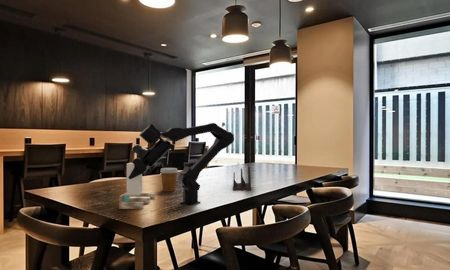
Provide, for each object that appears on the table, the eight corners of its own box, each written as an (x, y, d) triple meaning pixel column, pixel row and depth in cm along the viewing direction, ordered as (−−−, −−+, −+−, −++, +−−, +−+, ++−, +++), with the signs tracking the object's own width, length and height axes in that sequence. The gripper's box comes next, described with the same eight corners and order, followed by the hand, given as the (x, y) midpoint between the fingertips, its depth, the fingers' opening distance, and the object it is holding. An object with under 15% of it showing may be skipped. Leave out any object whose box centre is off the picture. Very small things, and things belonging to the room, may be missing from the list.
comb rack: (155, 198, 139) (155, 187, 139) (142, 208, 118) (142, 196, 118) (135, 198, 139) (135, 187, 139) (119, 208, 118) (119, 196, 118)
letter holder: (249, 185, 182) (249, 162, 182) (251, 190, 162) (251, 165, 162) (233, 185, 182) (233, 162, 182) (233, 190, 162) (233, 165, 162)
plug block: (142, 192, 126) (142, 162, 126) (138, 195, 121) (138, 163, 121) (130, 192, 126) (130, 162, 126) (126, 195, 121) (126, 163, 121)
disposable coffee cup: (158, 191, 157) (158, 169, 157) (162, 188, 166) (162, 167, 166) (175, 192, 156) (175, 169, 157) (179, 189, 166) (179, 167, 166)
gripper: (149, 138, 133) (125, 162, 133) (137, 137, 114) (109, 166, 114) (167, 155, 133) (142, 179, 133) (157, 158, 114) (129, 186, 114)
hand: (131, 177), depth 124 cm, fingers closed on plug block, 5 cm apart
